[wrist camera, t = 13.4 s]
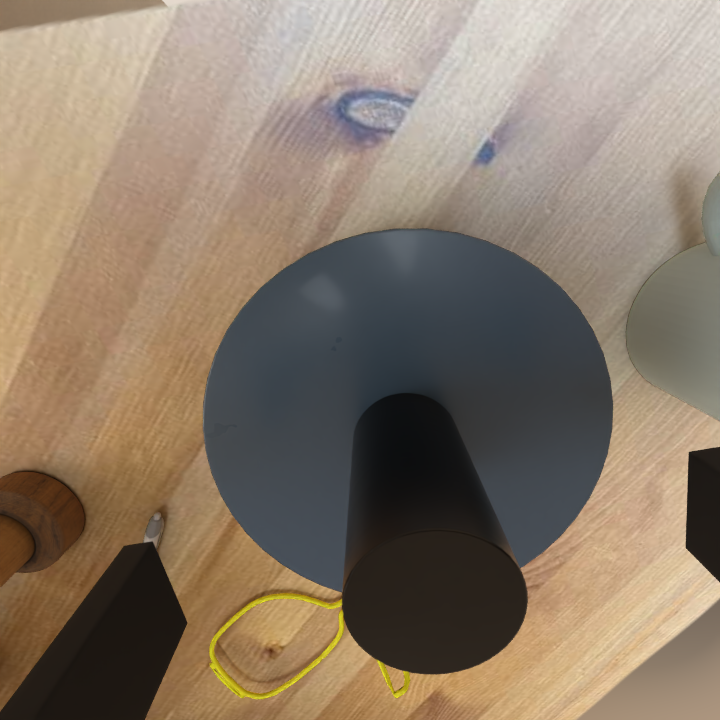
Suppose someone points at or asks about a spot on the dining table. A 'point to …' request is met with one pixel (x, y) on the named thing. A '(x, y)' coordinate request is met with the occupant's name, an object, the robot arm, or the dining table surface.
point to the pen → (154, 529)
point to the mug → (683, 319)
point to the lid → (410, 434)
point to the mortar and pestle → (35, 522)
